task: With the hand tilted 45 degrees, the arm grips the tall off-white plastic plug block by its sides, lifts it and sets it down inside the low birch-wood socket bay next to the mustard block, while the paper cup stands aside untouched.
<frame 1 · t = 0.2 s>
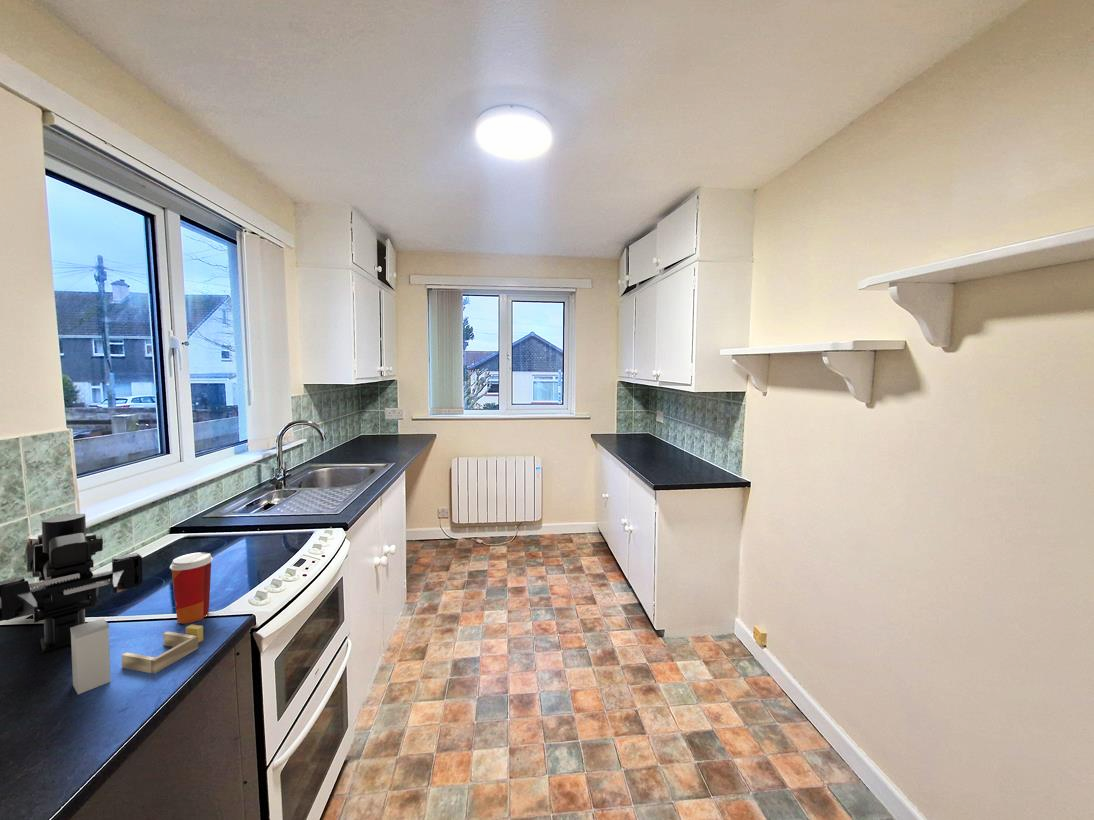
hand: (77, 599, 74), 17 cm above the worktop, tool horizontal, fingers open, 9 cm apart
bay: (161, 657, 85), on the worktop
white plug: (91, 683, 77), on the worktop
paper cup: (193, 618, 99), on the worktop
mustard block: (194, 640, 90), on the worktop
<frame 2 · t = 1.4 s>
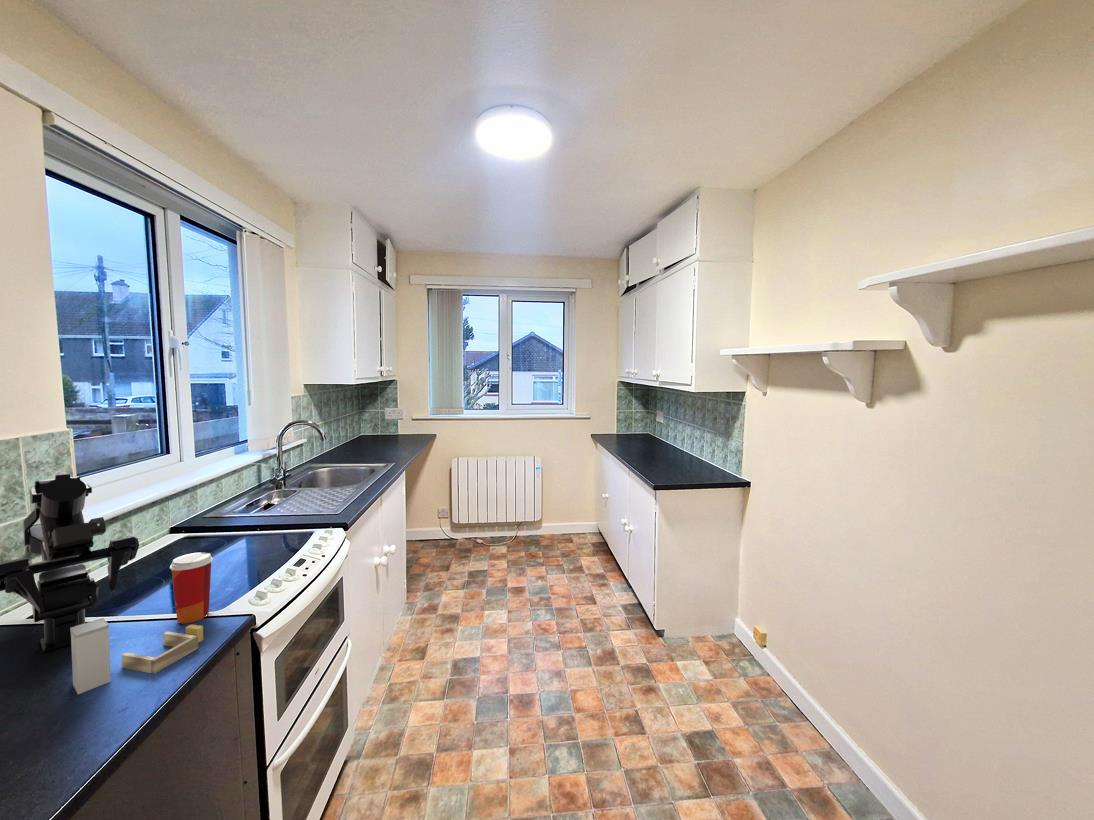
hand: (79, 600, 80), 13 cm above the worktop, tool tilted 45°, fingers open, 9 cm apart
nothing on the worktop moved.
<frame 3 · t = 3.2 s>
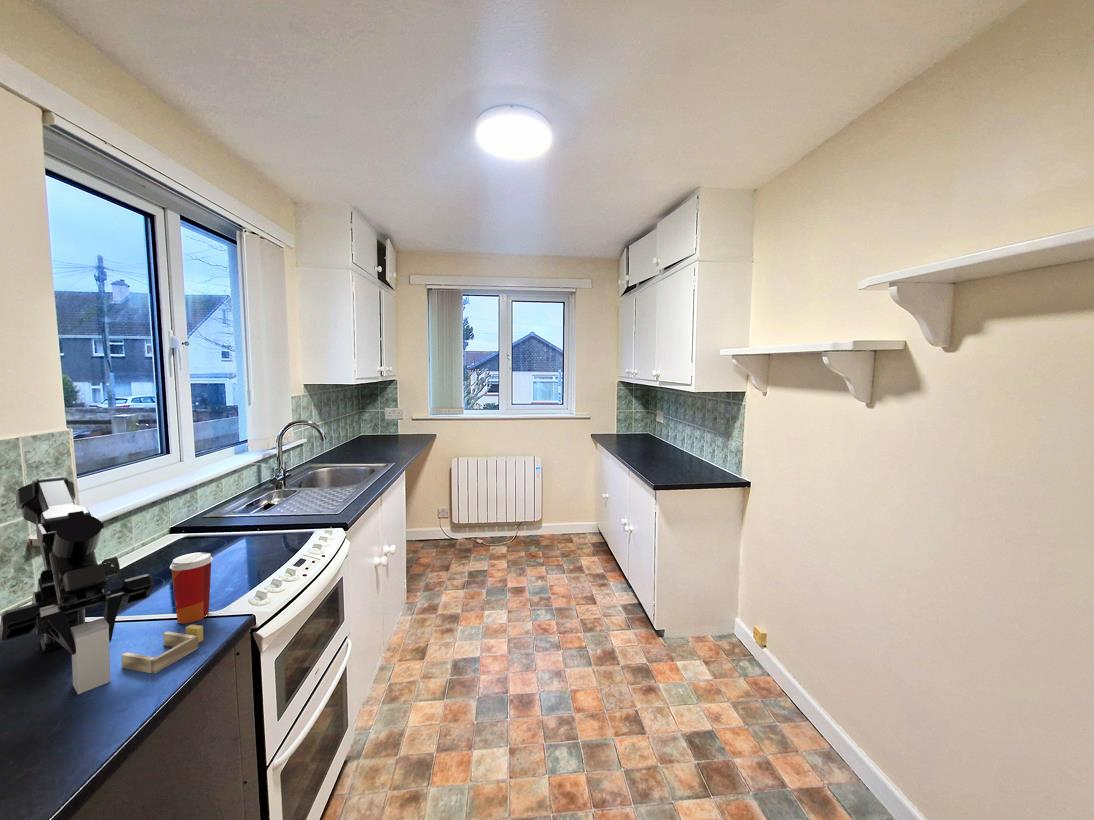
hand: (92, 647, 76), 7 cm above the worktop, tool tilted 45°, fingers closed on white plug, 4 cm apart
white plug: (91, 683, 77), on the worktop, touching gripper
everything else where it was.
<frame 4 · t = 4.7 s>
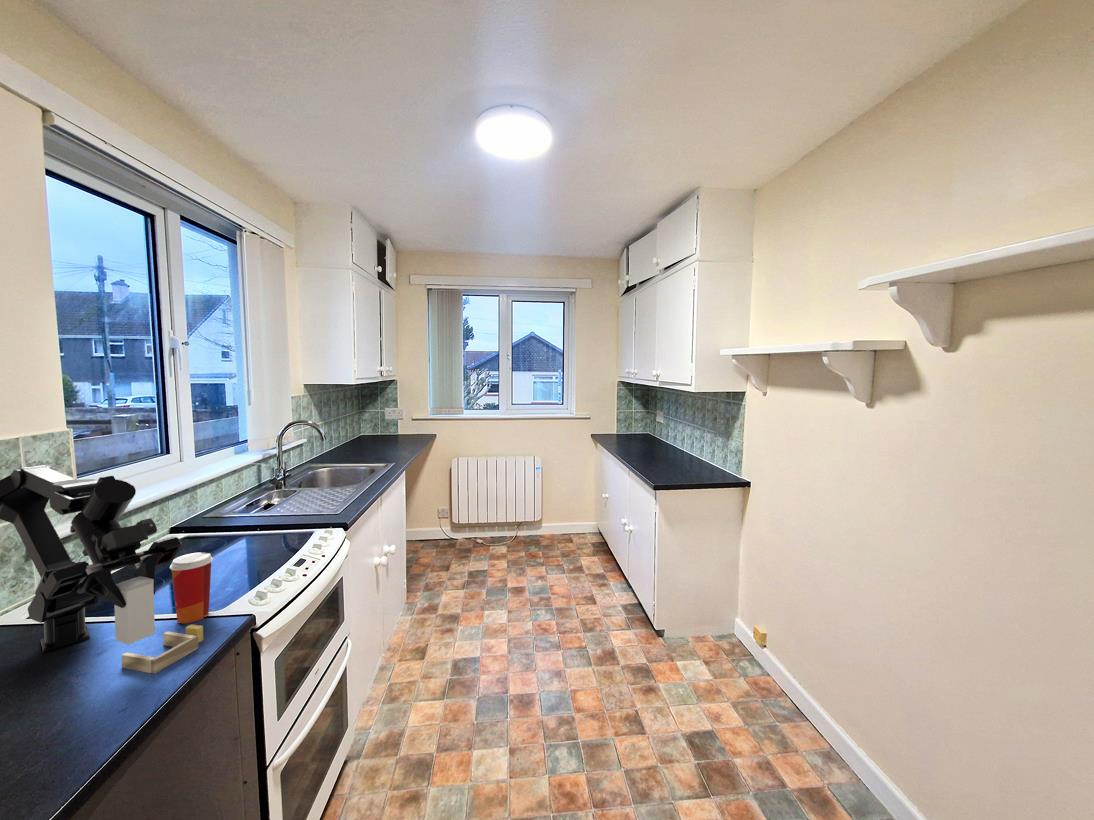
hand: (139, 600, 80), 13 cm above the worktop, tool tilted 45°, fingers closed on white plug, 4 cm apart
white plug: (135, 636, 81), point 6 cm above the worktop, touching gripper
everything else where it was.
when the fingers open (8 cm above the worktop, at t = 6.1 s): white plug drops 1 cm, on the worktop.
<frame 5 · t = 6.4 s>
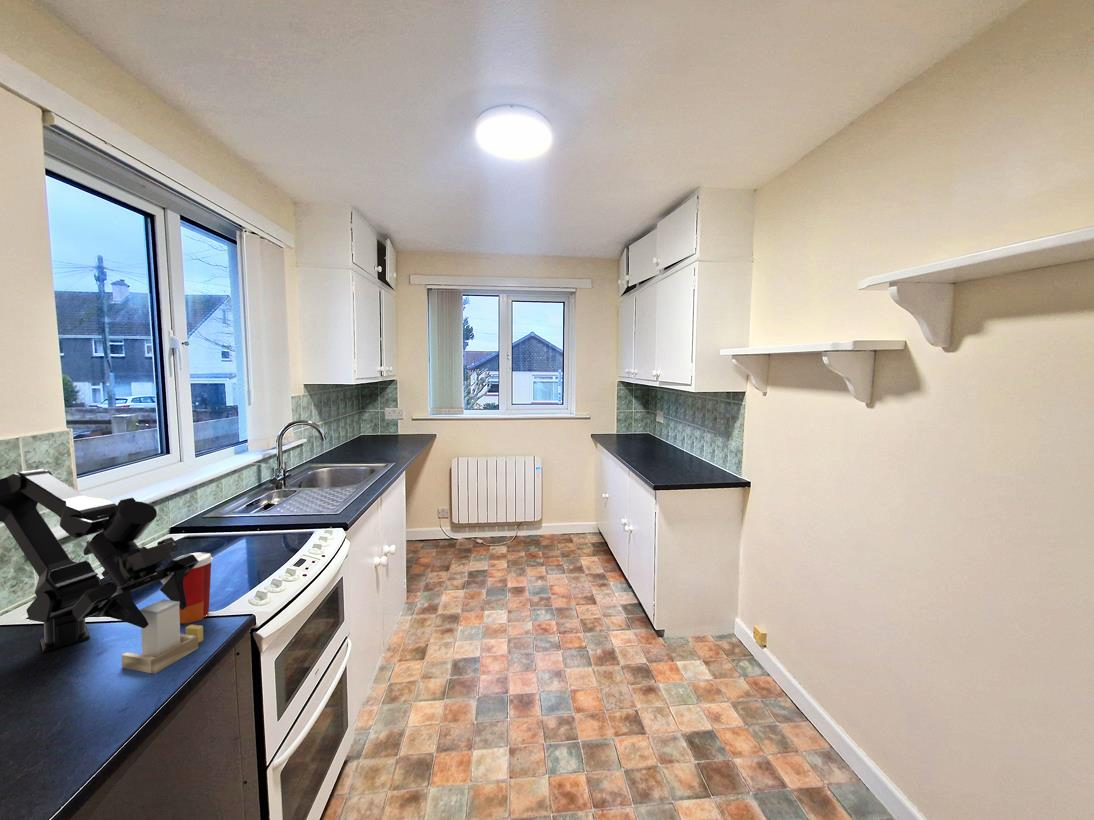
hand: (166, 616, 84), 8 cm above the worktop, tool tilted 45°, fingers open, 7 cm apart
white plug: (161, 657, 85), on the worktop
everything else where it was.
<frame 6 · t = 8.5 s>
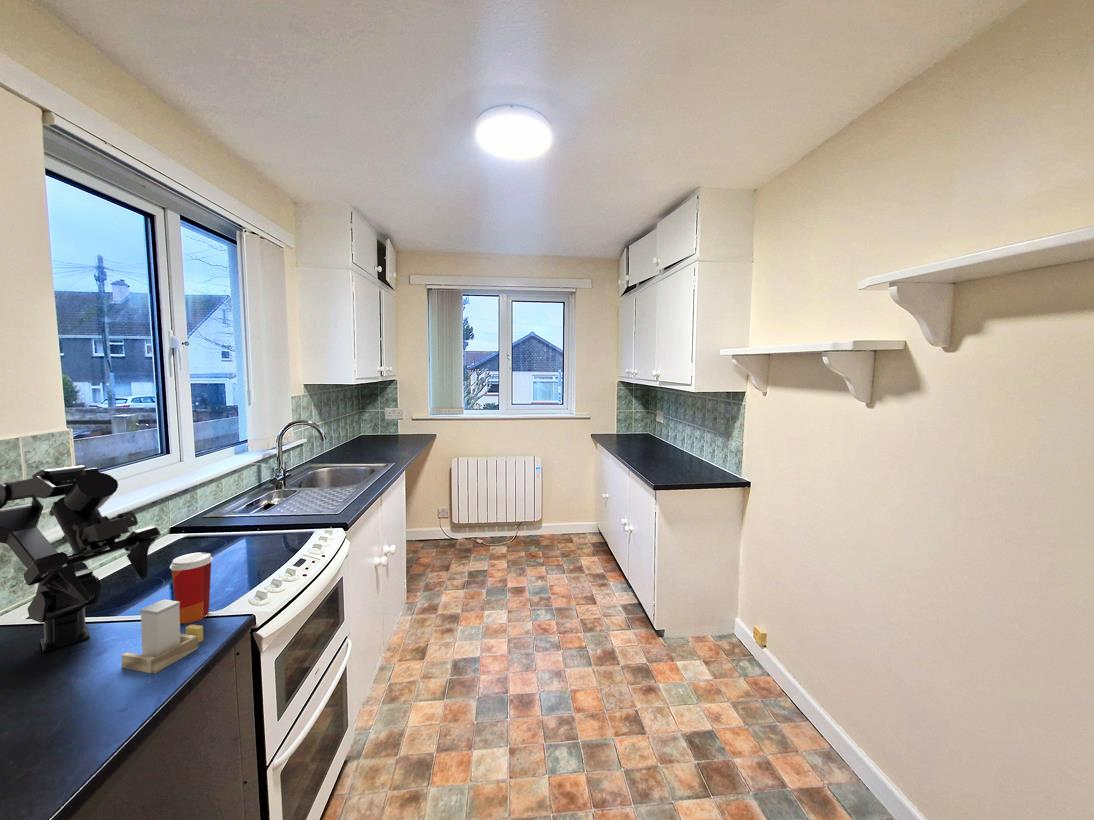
hand: (117, 589, 85), 13 cm above the worktop, tool tilted 35°, fingers open, 9 cm apart
nothing on the worktop moved.
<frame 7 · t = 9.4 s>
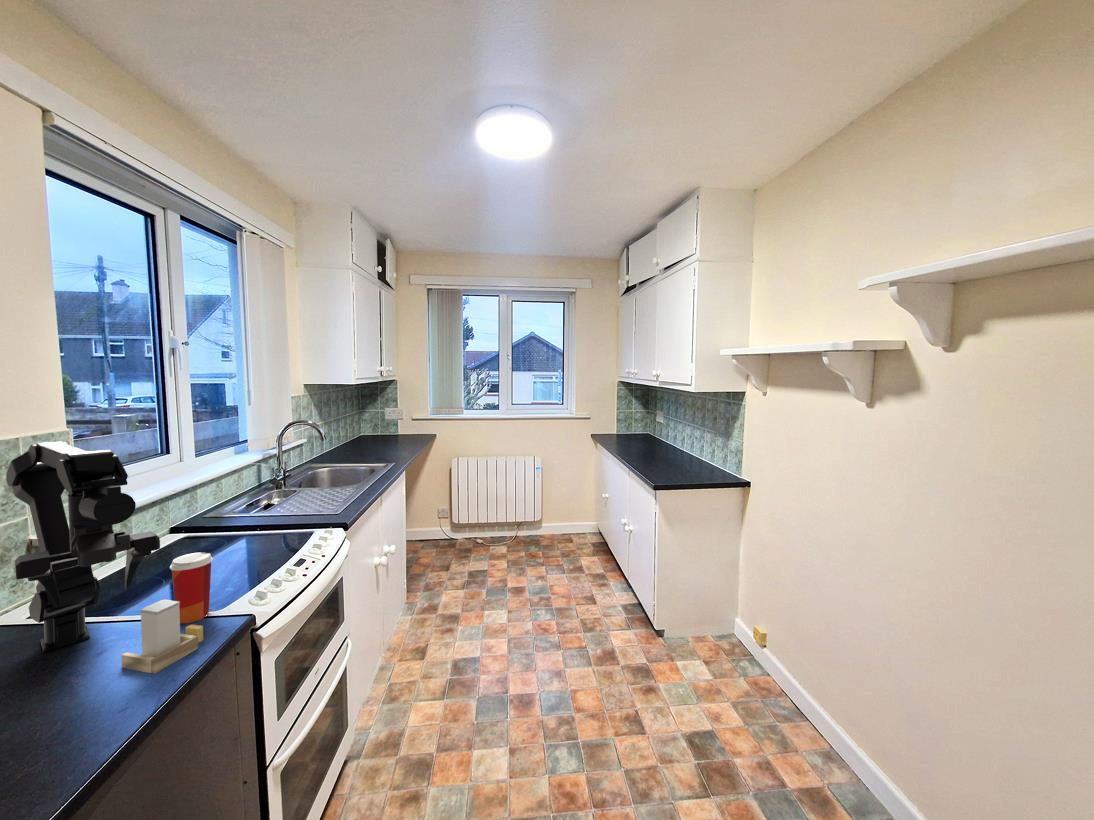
hand: (94, 596, 83), 12 cm above the worktop, tool pointing down, fingers open, 9 cm apart
nothing on the worktop moved.
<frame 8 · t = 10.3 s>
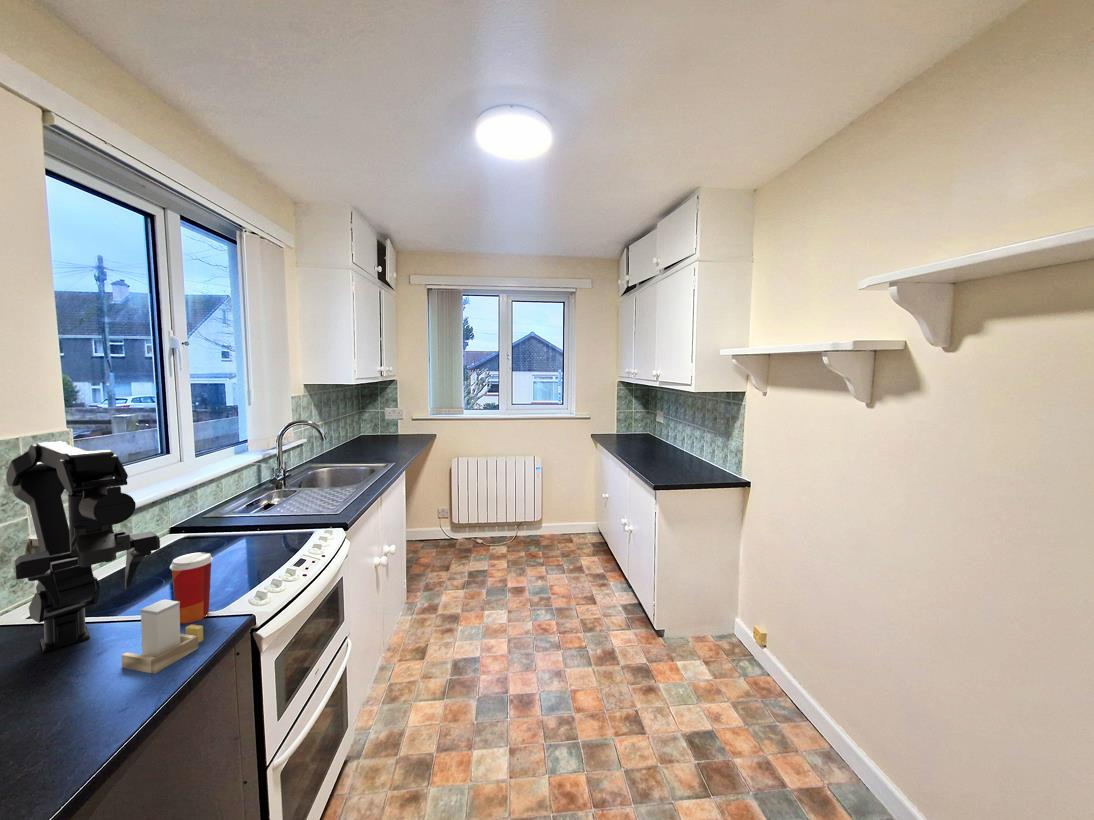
hand: (94, 596, 83), 12 cm above the worktop, tool pointing down, fingers open, 9 cm apart
nothing on the worktop moved.
at the end: white plug inside the target area on the bay (0.5 cm from its centre), point 0.0 cm above the bay's base; white plug tilted 0°; the gripper is holding nothing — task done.
